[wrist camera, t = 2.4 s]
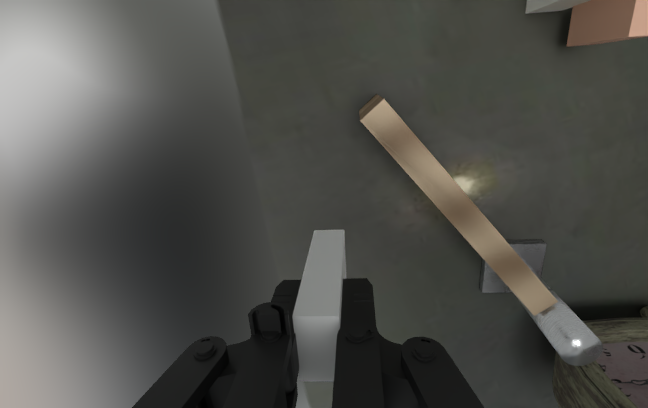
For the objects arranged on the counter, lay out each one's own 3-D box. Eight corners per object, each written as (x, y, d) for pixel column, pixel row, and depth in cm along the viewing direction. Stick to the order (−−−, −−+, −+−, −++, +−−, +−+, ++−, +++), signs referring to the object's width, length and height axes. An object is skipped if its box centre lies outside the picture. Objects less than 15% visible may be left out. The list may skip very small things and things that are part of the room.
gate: (513, 252, 36) (558, 301, 28) (495, 264, 37) (534, 315, 29) (376, 93, 32) (383, 98, 24) (358, 110, 33) (360, 120, 25)
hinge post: (533, 287, 39) (615, 381, 27) (479, 287, 40) (534, 379, 28) (541, 239, 37) (633, 317, 25) (484, 240, 38) (545, 317, 26)
